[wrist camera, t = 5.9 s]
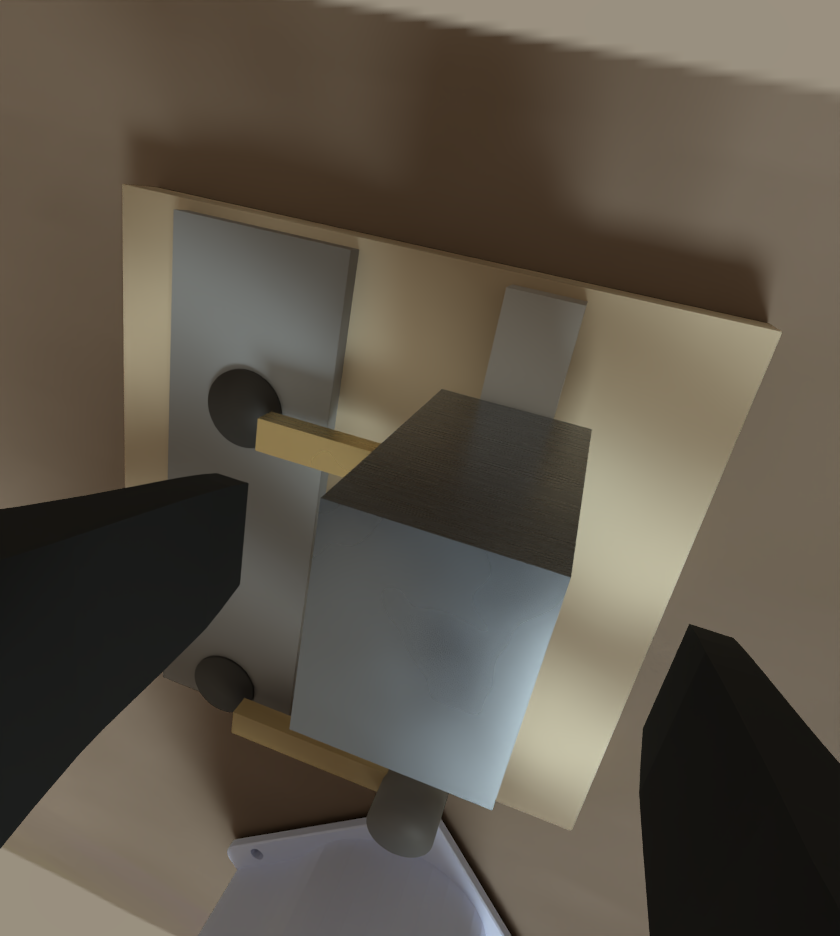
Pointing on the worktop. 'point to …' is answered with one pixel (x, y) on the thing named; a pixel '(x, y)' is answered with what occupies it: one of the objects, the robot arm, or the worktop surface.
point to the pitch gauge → (383, 411)
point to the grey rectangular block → (434, 584)
